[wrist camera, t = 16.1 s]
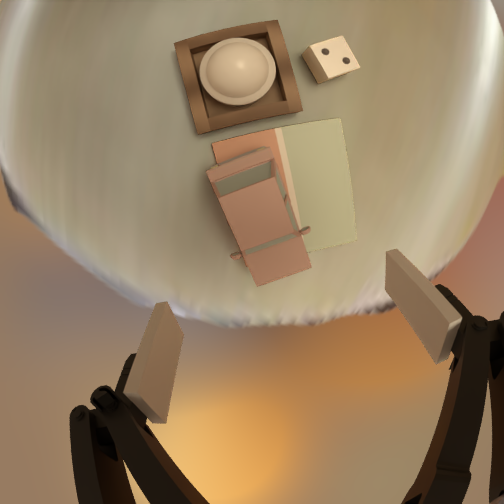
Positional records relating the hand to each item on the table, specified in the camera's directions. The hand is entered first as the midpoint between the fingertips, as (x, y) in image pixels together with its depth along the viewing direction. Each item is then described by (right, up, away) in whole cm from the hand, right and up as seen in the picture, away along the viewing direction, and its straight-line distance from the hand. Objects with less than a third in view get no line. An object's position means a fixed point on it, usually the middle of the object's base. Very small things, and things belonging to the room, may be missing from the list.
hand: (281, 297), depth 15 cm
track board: (+3, +10, +19) cm, 22 cm away
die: (+7, +26, +12) cm, 29 cm away
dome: (-3, +23, +11) cm, 26 cm away
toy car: (-1, +8, +19) cm, 21 cm away
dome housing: (-3, +23, +12) cm, 27 cm away
